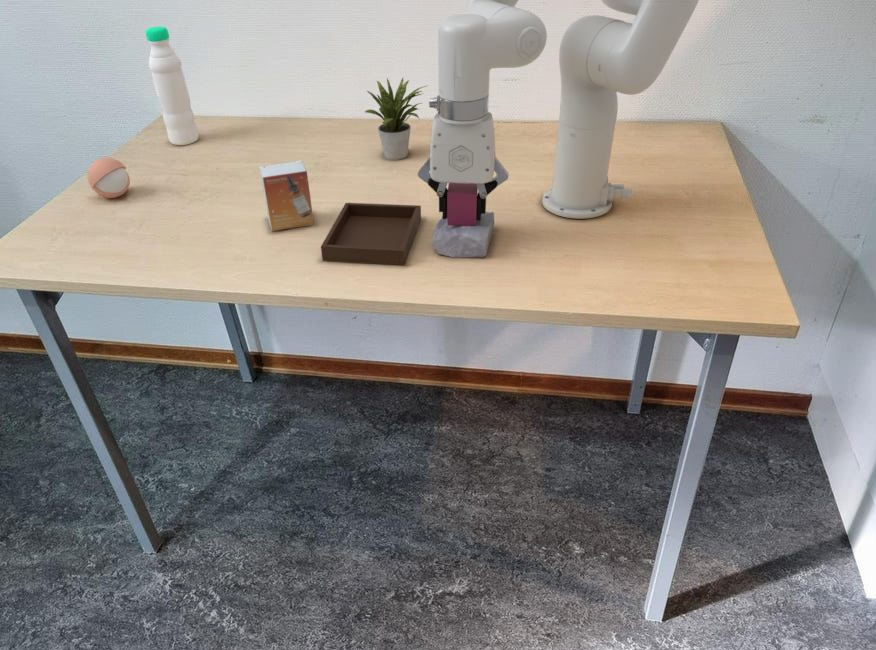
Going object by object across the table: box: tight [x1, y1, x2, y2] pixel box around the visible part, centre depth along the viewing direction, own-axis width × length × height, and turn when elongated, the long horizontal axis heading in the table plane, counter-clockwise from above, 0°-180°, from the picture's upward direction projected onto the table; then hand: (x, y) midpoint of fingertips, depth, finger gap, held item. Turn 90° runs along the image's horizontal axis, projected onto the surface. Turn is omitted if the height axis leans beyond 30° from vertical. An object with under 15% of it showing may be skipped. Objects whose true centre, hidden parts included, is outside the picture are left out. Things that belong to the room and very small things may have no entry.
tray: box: [320, 202, 422, 267], centre depth 116 cm, size 14×17×3 cm
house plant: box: [364, 77, 429, 161], centre depth 140 cm, size 14×14×16 cm
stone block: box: [432, 211, 495, 259], centre depth 114 cm, size 12×5×10 cm
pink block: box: [447, 183, 479, 226], centre depth 111 cm, size 5×5×6 cm
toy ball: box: [87, 157, 131, 199], centre depth 134 cm, size 8×8×8 cm
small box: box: [258, 159, 315, 232], centre depth 120 cm, size 8×6×10 cm
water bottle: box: [145, 26, 200, 146], centre depth 152 cm, size 7×7×25 cm
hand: (462, 215), depth 112 cm, fingers closed on pink block, 5 cm apart
